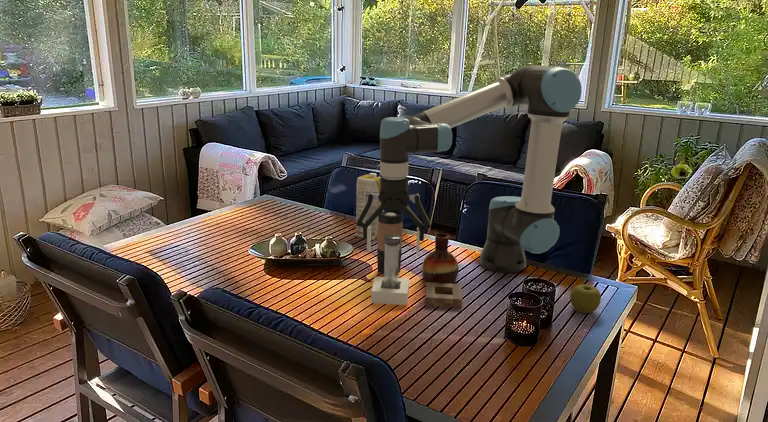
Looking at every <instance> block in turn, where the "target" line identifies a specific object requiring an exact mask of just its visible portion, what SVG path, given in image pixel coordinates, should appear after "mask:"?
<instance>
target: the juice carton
mask: <svg viewBox="0 0 768 422" xmlns="http://www.w3.org/2000/svg"><path fill="white" fill-rule="evenodd" d="M381 177H382V176H377V173H376V172H375V173H374V172H370V173H369V174H364V175H360V176H359V177H357V178H356V190H355V191H356V194H355V195H356V196H355V197H356V199H355V200H356V202H355V205H356V206H355V207H356V209H355V212H356V213H355V228H356V229H355V231H356V233H355V234H356V237H358V238H362V239H364V238H363V228H362V227H361V226H357V225H356V224H357V221H358V219H359V217H360V215H361V213H362V211H363V209H364V208H365V206H366V204H367V202H368V196H369V193H370V192H373V193H374V194H379V193H380V178H381ZM380 205H381V202H380V201H379V199H376V200H375V201H374V202H372V204H371V206H370V208H369V210H368V212H367V214H366V216H365V218H364V219H363V221H364V222H365V221H366V220H367V219H368V218H369V217H370V216H371V215H372V214H373V213H374V211H375V210H376V209H377V208H378V207H379V206H380ZM382 212H385V209H384V210H383V211H382ZM369 226H371V241H375V240H378V216H377V217H376V218H375V220H374V221H373V222H372V223H371V224H370V225H369Z"/></svg>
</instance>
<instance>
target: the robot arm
mask: <svg viewBox="0 0 768 422" xmlns="http://www.w3.org/2000/svg"><path fill="white" fill-rule="evenodd" d="M493 82H494V83H491V84H489V85H486V86H483V87H481V88H479V89H476V90H473V91H471V92H469V93H466V94H463V95H461V96H459V97H456V98H453V99H451V100H449V101H447V102H443V103H442V104H439V105H437V106H434V107H432V108H428V109H427V110H423V111H421V112H418V113H416V114H414V115H401V116H400V117H399V116H397V117H396V116H390V117H385V118H383V119H382V120H381V122H380V128H379V150H380V152H379V153H380V154H379V155H380V158H379V159H380V161H379V176H380V177H381V178H380V193H379V194H374V193H373V192H370V193H369V196H368V202H367V204H366V206H365V208H364V209H363V211H362V213H361V215H360V217H359V219H358V221H357V224H356V223H355V226H356V225H357V226H361V227H362V228H363V238H362V239H363V240H366V252H371V249H372V240H371V226H369V225H370V224H371V223H372V222H373V221H374V220H375V218H376V217H377V216H378V215H379V214H380V213H381V212H382V211H383V210H384V211H385V210H386V211H387V210H388V211H391V210H395V211H401V210H402V211H403V213H405V214H406V215H407V216H408V217H409V219H410V220H411V221H412V223H413V224H415V226H416V227H417V228H416V251H415V252H416V254H420V242H424V240H425V231H426V230H427V229H429V230H430V229H431V227H432V225H431V221H430V218H429V217H428V215H427V212H426V210H425V208H424V206H423V204H422V202H421V197H420V194H419V193H415V194H409V178H408V175H409V159H410V157H409V156H410V154H422V153H440V152H447V151H448V150H450V149H451V147H452V144H453V132H452V129H453V128H455V127H457V126H460V125H463V124H464V123H467V122H469V121H472V120H475V119H477V118H480V117H482V116H484V115H487V114H488V113H491V112H493V111H497V110H499V109H502V108H505V109H510V108H513V107H515V106H523V105H525V106H527V113H526V114H527V116H528V117H529V118H530V121H531V124H530V129H529V130H530V132H529V138H528V147H527V154H526V160H525V168H524V176H523V182H522V183H523V184H522V189H521V196H512V195H511V196H510V195H509V196H508V195H506V196H505V195H504V196H496V197H494V198H491V200H490V203H489V206H488V217H487V218H488V220H487V233H486V241H485V244H484V246H483V248H482V250H481V252H480V255H479V264H480V266H482V267H483V268H484V269H487V270H489V271H493V272H496V271H497V273H504V274H505V273H506V274H508V273H509V274H511V273H510V272H514V273H518V271H519V272H521V270H522V271H523V269H524V268H525V269H526V266H527V257H526V253H525V251H527V252H529V253H530V254H543V253H545V252H548V251H549V250H550V249H551V248H552V247H554V246H555V244H556V243H557V241H558V240H559V237H560V226H559V224H558V222H557V221H556V220H555V219H554V217H555V212H556V211H555V210H556V209H555V207H554V206H553V204H552V203H551V202H552V195H553V190H554V189H553V188H554V181H555V175H556V169H557V168H556V167H557V162H558V156H559V155H558V153H559V148H560V142H561V135H562V129H563V128H562V127H563V123H564V122H565V121H566V120H568V119H569V117H570V113H571V111H572V110H574V109H575V107H576V105H578V104H579V102H580V101H581V97H582V84H581V81H580V78H579V77H578V76H577V74H576V72H574V71H573V70H571V69H569V68H566V67H565V68H564V67H562V66H548V65H540V64H539V65H537V64H536V65H535V64H532V65H528V66H523V67H521V68H518V69H516V70H513V71H511V72H509V73H506V74H504V75H502V76H498V77H497V78H495V80H494V81H493ZM376 199H379V201H380V202H381V205H380V206H379V207H378V208H377V209H376V210H375V211H374V213H373V214H372V215H371V216H370V217H369V218H368V219H367V220H366V221H365V222H364V221H363V219H364V218H365V216H366V214H367V212H368V210H369V208H370V206H371V204H372V202H374V201H375V200H376ZM409 201H411V202H412V203H413V204H415V207H416V210H417V212H418V214H419V215H420V217H421V219H422V221H423V222H422V221H421V219H419V217H418V216H417V214H415V212H414V211H413V210H412V208H411V207H410V206H409V205H408V202H409ZM525 269H524V270H525Z"/></svg>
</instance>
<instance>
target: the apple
mask: <svg viewBox="0 0 768 422" xmlns="http://www.w3.org/2000/svg"><path fill="white" fill-rule="evenodd" d="M601 295H602V294H601V293H600V291H599V289H598V288H597V287H595V286H593V285H590V284H578V285H576V286H575V287H573V288H572V290H571V292H570V295H569V296H570V297H569V299H570V304H571V306H572V308H573V310H575V311H577V312H579V313H581V314H591V313H593V312H595V311H596V310H597V309H598V307H600V304H601V301H602V296H601Z"/></svg>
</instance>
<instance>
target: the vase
mask: <svg viewBox="0 0 768 422" xmlns="http://www.w3.org/2000/svg"><path fill="white" fill-rule="evenodd" d="M434 238H435V239H434V240H435V241H434V242H435V244H434V250H432V251H431V252H428V254H427V255H426V256H425V257H424V259H423V261H422V265H421V271H422V272H421V273H422V277H423V279H424V281H425V282H432V283H448V284H455V282H456V280H457V279H458V275H459V269H460V268H459V262H458V260H457V258H456V256H454V254H452V253H451V252H450V251H449V250H448V247H449V242H450V235H449V234H447V233H445V232H444V233H443V232H441V233H435V235H434Z"/></svg>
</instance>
